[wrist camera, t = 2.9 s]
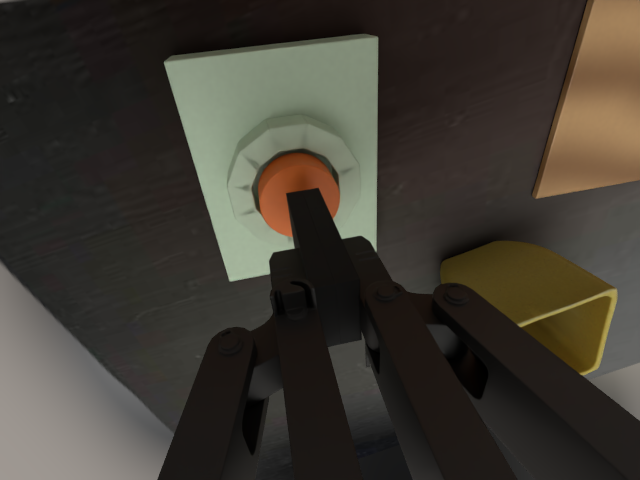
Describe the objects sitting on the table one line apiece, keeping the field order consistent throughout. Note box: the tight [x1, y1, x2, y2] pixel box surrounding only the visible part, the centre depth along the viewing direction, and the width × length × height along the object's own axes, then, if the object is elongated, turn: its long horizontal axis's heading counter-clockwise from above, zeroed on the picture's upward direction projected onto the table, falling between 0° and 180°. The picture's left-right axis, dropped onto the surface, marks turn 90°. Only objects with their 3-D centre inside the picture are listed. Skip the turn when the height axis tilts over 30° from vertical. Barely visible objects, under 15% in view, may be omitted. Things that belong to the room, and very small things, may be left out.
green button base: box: [164, 34, 378, 281], centre depth 20 cm, size 13×10×4 cm
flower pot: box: [440, 241, 617, 376], centre depth 26 cm, size 9×9×9 cm
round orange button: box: [258, 153, 340, 237], centre depth 18 cm, size 4×4×2 cm
